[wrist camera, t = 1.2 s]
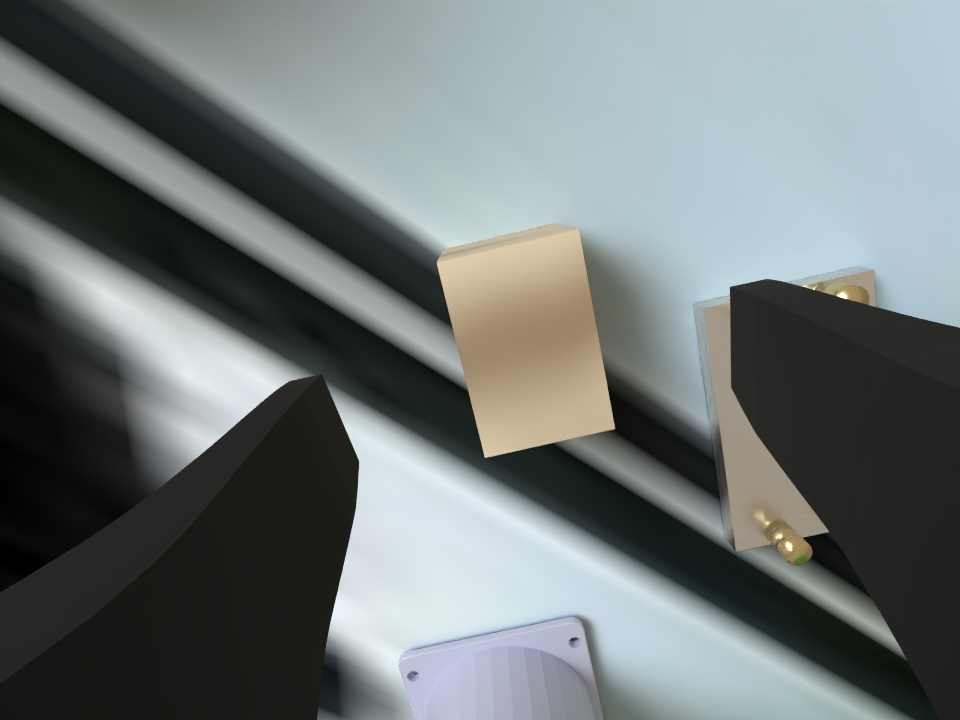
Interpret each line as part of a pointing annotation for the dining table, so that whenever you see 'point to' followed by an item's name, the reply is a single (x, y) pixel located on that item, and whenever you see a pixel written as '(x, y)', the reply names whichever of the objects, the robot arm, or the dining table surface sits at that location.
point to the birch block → (527, 338)
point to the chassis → (738, 450)
